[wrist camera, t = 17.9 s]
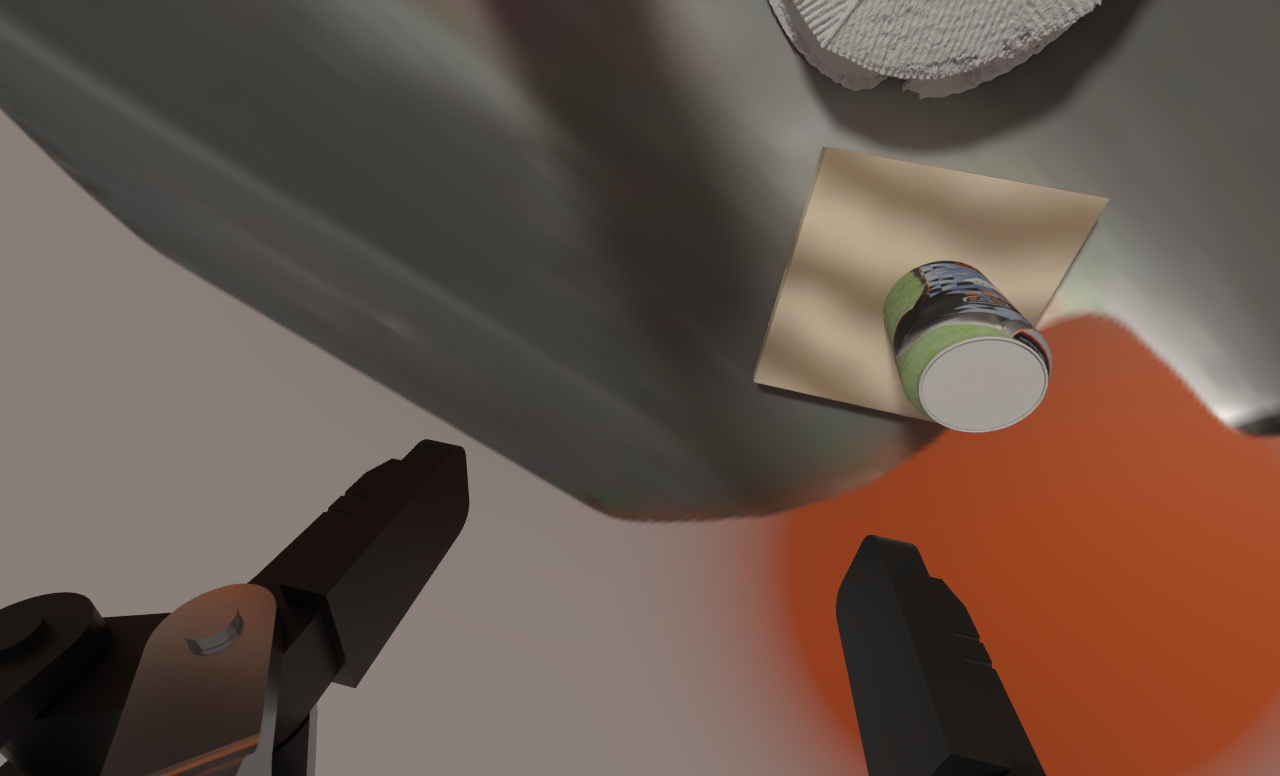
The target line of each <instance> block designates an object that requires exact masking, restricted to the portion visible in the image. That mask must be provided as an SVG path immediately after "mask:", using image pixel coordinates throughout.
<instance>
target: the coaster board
mask: <svg viewBox="0 0 1280 776" xmlns="http://www.w3.org/2000/svg"><path fill="white" fill-rule="evenodd" d="M1108 200H1109V199H1108V198H1103V197H1097V196H1092V195H1086V194H1081V193H1075V192H1070V191H1064V190H1059V189H1053V188H1048V187H1042V186H1037V185H1031V184H1026V183H1020V182H1015V181H1009V180H1004V179H998V178H993V177H987V176H982V175H976V174H971V173H965V172H960V171H954V170H949V169H943V168H938V167H932V166H927V165H921V164H916V163H910V162H905V161H899V160H894V159H888V158H883V157H877V156H872V155H866V154H861V153H855V152H850V151H844V150H838V149H833V148H827V147H823V148H822V151H821V155H820V158H819V161H818V164H817V168H816V171H815V174H814V177H813V181H812V184H811V187H810V190H809V194H808V197H807V200H806V203H805V207H804V210H803V213H802V216H801V220H800V223H799V226H798V229H797V233H796V236H795V239H794V242H793V246H792V249H791V252H790V255H789V259H788V262H787V265H786V268H785V272H784V275H783V278H782V281H781V285H780V288H779V291H778V294H777V298H776V301H775V304H774V307H773V311H772V314H771V317H770V320H769V324H768V327H767V330H766V333H765V337H764V340H763V343H762V346H761V350H760V353H759V356H758V359H757V363H756V366H755V369H754V372H753V379H754V382H756V383H760V384H765V385H769V386H774V387H778V388H783V389H787V390H792V391H796V392H801V393H805V394H809V395H814V396H818V397H823V398H827V399H832V400H836V401H841V402H845V403H850V404H854V405H859V406H863V407H868V408H872V409H877V410H881V411H886V412H890V413H895V414H899V415H904V416H908V417H913V418H917V419H921V420H926V421H930V422H935V421H932V420H931V419H929V418H927V417H926V416H924V415H922V414H921V413H920V412H919V411H918V410H916V409H915V408H914V407H913V406H912V404H911V403H910V402H909V400H908V399H907V397H906V395H905V393H904V391H903V387H902V384H901V380H900V377H899V373H898V369H897V366H896V362H895V359H894V355H893V351H892V348H891V344H890V341H889V337H888V333H887V330H886V326H885V322H884V318H883V309H884V303H885V300H886V298H887V295H888V293H889V292H890V290H891V288H892V287H893V286H894V285H895V283H896V282H897V281H898V280H899V279H900V278H901V277H903V276H904V275H905V274H906V273H908V272H910V271H911V270H913V269H915V268H917V267H919V266H921V265H924V264H928V263H931V262H937V261H956V262H962V263H965V264H968V265H970V266H972V267H974V268H976V269H977V270H979V271H980V272H981V273H982V274H983V275H984V276H985V277H986V278H987V279H988V280H989V281H990V282H991V283H992V284H993V285H994V286H995V287H996V288H997V289H998V290H999V291H1000V292H1001V293H1002V294H1003V295H1004V296H1005V297H1006V298H1007V299H1008V300H1009V301H1010V303H1011V304H1012V305H1013V306H1014V307H1015V308H1016V309H1017V310H1018V311H1019V312H1020V313H1021V314H1022V315H1023V316H1024V317H1025V318H1026V319H1027V320H1028V321H1029V322H1030V323H1031V324H1032V325H1033V326H1034V325H1035V324H1036V322H1037V320H1038V319H1039V317H1040V315H1041V314H1042V312H1043V310H1044V308H1045V307H1046V305H1047V303H1048V302H1049V300H1050V298H1051V297H1052V295H1053V293H1054V292H1055V290H1056V288H1057V287H1058V285H1059V283H1060V281H1061V280H1062V278H1063V276H1064V275H1065V273H1066V271H1067V270H1068V268H1069V266H1070V265H1071V263H1072V261H1073V259H1074V258H1075V256H1076V254H1077V253H1078V251H1079V249H1080V248H1081V246H1082V244H1083V243H1084V241H1085V239H1086V238H1087V236H1088V234H1089V232H1090V231H1091V229H1092V227H1093V226H1094V224H1095V222H1096V221H1097V219H1098V217H1099V216H1100V214H1101V212H1102V210H1103V209H1104V207H1105V205H1106V204H1107V202H1108ZM935 423H938V422H935ZM939 424H940V423H939Z"/></svg>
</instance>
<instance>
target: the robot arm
mask: <svg viewBox="0 0 1280 776" xmlns="http://www.w3.org/2000/svg"><path fill="white" fill-rule="evenodd" d="M468 510H469V492H468V477H467V464H466V454H465V450H464V449H463V447H461V446H456V445H451V444H447V443H442V442H438V441H433V440H428V439H425V440H422V441H421V442H419V443H418V444H417V445H416V446H415V447H414V448H413V449H412V450H411V451H410V452H409V453H408V454H407V455H406V456H405V457H404V458H403V459H402V460H397V459H391V460H389V461H387V462H385V463H383V464H381V465H379V466H377V467H376V468H374V469H372V470H370V471H368V472H366V473H365V474H364V475H363V476H362V477H361V478H359V479H358V481H357V482H355V483H354V484H353V485H352V486H351V487H350V488H349V489H348V490H347V491H346V492H345V495H344V496H340V497H339V498H338V499H337V500H336V501H335V502H334V503H333V504H332V505H331V506H330V507H329V508H328V511H327V512H323V513H322V514H321V515H320V516H319V517H318V518H317V519H316V520H315V521H314V522H313V523H312V524H311V525H310V526H309V527H308V528H306V530H304V531H303V532H302V533H301V534H300V535H299V536H298V537H297V538H296V539H295V540H294V541H293V542H292V543H291V544H289V546H288V547H286V548H285V549H284V550H283V551H282V552H281V553H280V554H279V555H278V556H277V557H276V558H275V559H274V560H273V561H271V562H270V563H269V564H268V565H267V566H266V567H265V568H264V569H263V570H262V571H261V572H260V573H259V574H258V575H257V576H256V577H254V578H253V579H252V580H251V581H250V582H248V583H247V584H233V585H228V586H223V587H220V588H217V589H214V590H211V591H208V592H206V593H203V594H201V595H199V596H198V597H195V598H193V599H191V600H190V601H188V602H186V603H185V604H183V605H181V606H180V607H179V608H177V609H176V610H175V611H174V612H172V613H161V614H147V615H133V616H119V617H105V618H102V616H101V615H100V613H99V612H98V611H97V609H96V608H95V606H94V605H93V604H92V602H91V601H90V599H88V598H87V597H85V596H84V595H81V594H77V593H69V592H64V593H52V594H46V595H41V596H37V597H33V598H29V599H26V600H23V601H20V602H17V603H15V604H12V605H10V606H7V607H5V608H3V609H1V610H0V753H1V754H2V755H3V756H4V757H5V758H6V759H7V760H8V761H7V762H5V763H4V764H3V765H2V766H1V767H0V776H315V761H316V738H317V737H316V736H317V714H318V710H317V701H318V700H319V699H320V697H321V696H322V694H323V693H324V692H325V690H326V688H327V687H328V686H329V685H330V683H331V682H334V683H338V684H342V685H345V686H349V687H353V688H356V687H357V685H358V684H359V682H360V681H361V679H362V678H363V676H364V675H365V673H366V672H367V670H368V669H369V667H370V666H371V664H372V663H373V661H374V660H375V658H376V657H377V656H378V654H379V653H380V651H381V649H382V648H383V647H384V645H385V644H386V642H387V641H388V639H389V638H390V636H391V635H392V633H393V632H394V630H395V629H396V627H397V626H398V624H399V623H400V621H401V620H402V618H403V617H404V615H405V614H406V612H407V611H408V609H409V608H410V607H411V605H412V604H413V602H414V601H415V599H416V598H417V596H418V595H419V593H420V592H421V590H422V589H423V587H424V586H425V584H426V583H427V581H428V580H429V578H430V577H431V575H432V574H433V572H434V571H435V569H436V568H437V566H438V565H439V563H440V562H441V560H442V559H443V557H444V556H445V554H446V553H447V552H448V550H449V549H450V547H451V546H452V544H453V543H454V541H455V540H456V538H457V536H458V535H459V534H460V532H461V530H462V528H463V526H464V524H465V521H466V518H467V515H468ZM836 615H837V623H838V628H839V632H840V638H841V642H842V647H843V652H844V657H845V661H846V667H847V671H848V676H849V681H850V686H851V691H852V696H853V701H854V706H855V710H856V715H857V720H858V725H859V730H860V735H861V740H862V745H863V749H864V754H865V759H866V764H867V769H868V774H869V776H1046V774H1045V773H1044V770H1043V768H1042V766H1041V764H1040V762H1039V760H1038V758H1037V756H1036V754H1035V751H1034V750H1033V747H1032V745H1031V743H1030V741H1029V739H1028V737H1027V735H1026V733H1025V731H1024V729H1023V726H1022V724H1021V722H1020V720H1019V718H1018V716H1017V714H1016V712H1015V709H1014V707H1013V705H1012V703H1011V701H1010V699H1009V697H1008V695H1007V693H1006V691H1005V689H1004V686H1003V684H1002V682H1001V680H1000V678H999V676H998V674H997V672H996V670H995V669H992V666H991V665H992V661H991V659H990V657H989V655H988V653H987V651H986V649H985V647H984V645H983V643H980V641H979V638H980V636H979V634H978V632H977V630H976V628H975V626H974V624H973V622H972V619H971V617H970V615H969V613H968V611H967V609H966V607H965V606H964V605H963V604H962V602H961V601H960V600H959V599H958V598H957V597H956V596H955V594H954V593H953V592H952V591H951V590H950V588H949V587H948V586H947V585H946V584H945V583H944V581H942V579H937V578H933V577H930V576H929V574H928V571H927V569H926V567H925V564H924V562H923V560H922V558H921V555H920V553H919V551H918V549H917V548H916V546H914V545H913V544H911V543H908V542H903V541H898V540H893V539H888V538H884V537H879V536H874V535H868V536H866V537H865V539H864V540H863V542H862V543H861V546H860V548H859V549H858V551H857V553H856V556H855V557H854V559H853V561H852V564H851V566H850V567H849V569H848V571H847V574H846V575H845V577H844V580H843V581H842V584H841V586H840V588H839V591H838V596H837V603H836Z"/></svg>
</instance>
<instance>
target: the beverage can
mask: <svg viewBox="0 0 1280 776" xmlns="http://www.w3.org/2000/svg"><path fill="white" fill-rule="evenodd" d="M883 318H884V322H885V326H886V330H887V333H888V337H889V341H890V344H891V348H892V351H893V355H894V359H895V362H896V366H897V369H898V373H899V377H900V380H901V384H902V387H903V391H904V393H905V395H906V397H907V399H908V400H909V402H910V403H911V404H912V406H913V407H914V408H915V409H916V410H918V411H919V412H920V413H921V414H922V415H924V416H926V417H927V418H929V419H931V420H932V421H935V422H938V423H940V424H941V425H943V426H945V427H948V428H950V429H953V430H958V431H962V432H971V433H979V432H990V431H995V430H999V429H1003V428H1006V427H1008V426H1010V425H1013V424H1015V423H1017V422H1019V421H1020V420H1022V419H1024V418H1025V417H1026V416H1028V415H1029V414H1030V413H1031V412H1033V410H1034V409H1035V408H1036V407H1037V406H1038V405H1039V404H1040V402H1041V400H1042V399H1043V397H1044V395H1045V392H1046V390H1047V385H1048V382H1049V380H1050V377H1051V371H1052V357H1051V352H1050V349H1049V347H1048V344H1047V342H1046V341H1045V339H1044V338H1043V336H1042V335H1041V334H1040V333H1039V332H1038V330H1037V329H1036V328H1035V327H1034V326H1033V325H1032V324H1031V323H1030V322H1029V321H1028V320H1027V319H1026V318H1025V317H1024V316H1023V315H1022V314H1021V313H1020V312H1019V311H1018V310H1017V309H1016V308H1015V307H1014V306H1013V305H1012V304H1011V303H1010V301H1009V300H1008V299H1007V298H1006V297H1005V296H1004V295H1003V294H1002V293H1001V292H1000V291H999V290H998V289H997V288H996V287H995V286H994V285H993V284H992V283H991V282H990V281H989V280H988V279H987V278H986V277H985V276H984V275H983V274H982V273H981V272H980V271H979V270H977V269H976V268H974V267H972V266H970V265H968V264H965V263H962V262H956V261H937V262H931V263H928V264H924V265H921V266H919V267H917V268H915V269H913V270H911V271H910V272H908V273H906V274H905V275H904V276H903V277H901V278H900V279H899V280H898V281H897V282H896V283H895V285H894V286H893V287H892V288H891V290H890V292H889V293H888V295H887V298H886V300H885V303H884V309H883Z"/></svg>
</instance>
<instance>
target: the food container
mask: <svg viewBox="0 0 1280 776" xmlns="http://www.w3.org/2000/svg"><path fill="white" fill-rule="evenodd" d="M1101 1H1102V0H769V3H770V4H771V6H772V7H773V10H774V12H775V14H776V15H777V17H778V20H779V22H780V23H781V25H782V28H783V29H784V30H785V32H786V34H787V35H788V36H789V38H790V40H791V42H792V43H793V44H794V46H795V47H796V48H797V50H798V51H800V53H801V54H803V55H804V56H805V58H806V60H807V61H808V63H809V64H811V65H812V66H814V67H816V68H817V69H818V70H819V72H820V73H821V74H824V75H825V76H826V77H829V78H831V79H832V80H833V82H835V83H841V85H842V86H843V87H844V88H850V89H852V90H853V91H858V90H860V89H863V90H864V89H866V88H867V89H868V90H870V89H872V88H874V87H875V86H878V84H879V83H880V82H881V81H884V80H886V79H887V77H888V76H891V77H898V78H900V79H903V78H904V80H906V81H905V82H904V83H903V84H902V91H906V90H909V91H913V92H917V93H919V97H920V98H919V100H920V99H921V100H923V98H925V97H933V98H941V97H946V96H948V95H951V94H959V93H962V92H964V91H966V90H969V89H974V88H976V87H978V85H979V84H981V83H983V82H985V81H991V80H992V79H994V78H995V77H997V76H999V75H1001V74H1005V73H1007V72H1009V71H1010V70H1011V69H1012V68H1013V67H1015V66H1018V65H1019V64H1021V63H1024V62H1025V61H1026V60H1027V59H1028V58H1030V57H1031V56H1032V55H1033V54H1038V53H1039V52H1040V51H1041V50H1042V49H1043V48H1044V47H1045V46H1046V45H1048V44H1049V43H1050V42H1051V41H1054V40H1055V39H1057V38H1058V37H1059V36H1060V35H1061V34H1062V33H1063V32H1064V31H1067V30H1068V28H1069V27H1070V26H1071V25H1072V24H1074V23H1076V21H1077V20H1078V19H1079V18H1081V17H1083V16H1084V15H1085V14H1087V13H1089V12H1091V11H1093V8H1095V7H1096V5H1097V4H1099V6H1101V5H1102V4H1101Z"/></svg>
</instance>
